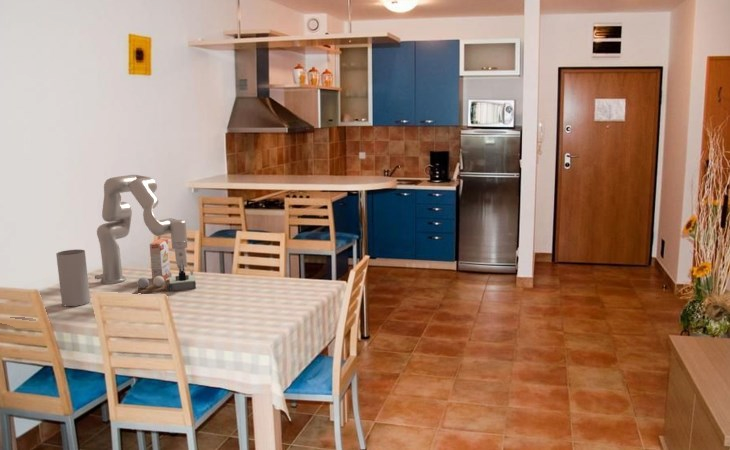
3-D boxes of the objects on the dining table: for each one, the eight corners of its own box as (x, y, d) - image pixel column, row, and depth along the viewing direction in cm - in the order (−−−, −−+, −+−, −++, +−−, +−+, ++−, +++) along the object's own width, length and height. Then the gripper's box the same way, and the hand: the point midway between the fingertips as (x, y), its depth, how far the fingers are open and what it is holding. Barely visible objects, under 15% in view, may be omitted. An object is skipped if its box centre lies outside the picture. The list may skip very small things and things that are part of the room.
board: (137, 294, 340) (137, 291, 340) (138, 289, 350) (137, 286, 350) (166, 291, 344) (166, 288, 344) (166, 286, 354) (166, 283, 354)
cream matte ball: (153, 288, 344) (152, 278, 343) (153, 286, 349) (152, 275, 348) (165, 287, 346) (164, 276, 345) (164, 284, 351) (164, 274, 350)
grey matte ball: (137, 290, 342) (136, 279, 341) (138, 287, 347) (137, 276, 346) (149, 289, 344) (148, 278, 343) (149, 286, 349) (148, 275, 348)
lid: (170, 284, 343) (169, 279, 343) (169, 278, 355) (169, 273, 355) (195, 281, 347) (195, 276, 346) (193, 275, 359) (193, 271, 358)
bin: (170, 291, 344) (170, 284, 343) (169, 279, 367) (168, 273, 367) (195, 288, 348) (195, 281, 347) (193, 277, 371) (192, 271, 370)
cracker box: (163, 282, 362) (160, 243, 358) (152, 282, 362) (148, 244, 358) (171, 275, 376) (168, 238, 372) (160, 276, 376) (157, 238, 372)
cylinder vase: (63, 308, 320) (57, 256, 316) (61, 302, 331) (55, 251, 327) (91, 304, 326) (86, 253, 321) (88, 298, 337) (83, 248, 332)
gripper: (188, 246, 335) (191, 283, 339) (186, 241, 349) (189, 276, 353) (172, 248, 333) (175, 284, 336) (171, 242, 347) (174, 277, 351)
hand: (182, 280), depth 345 cm, fingers closed
